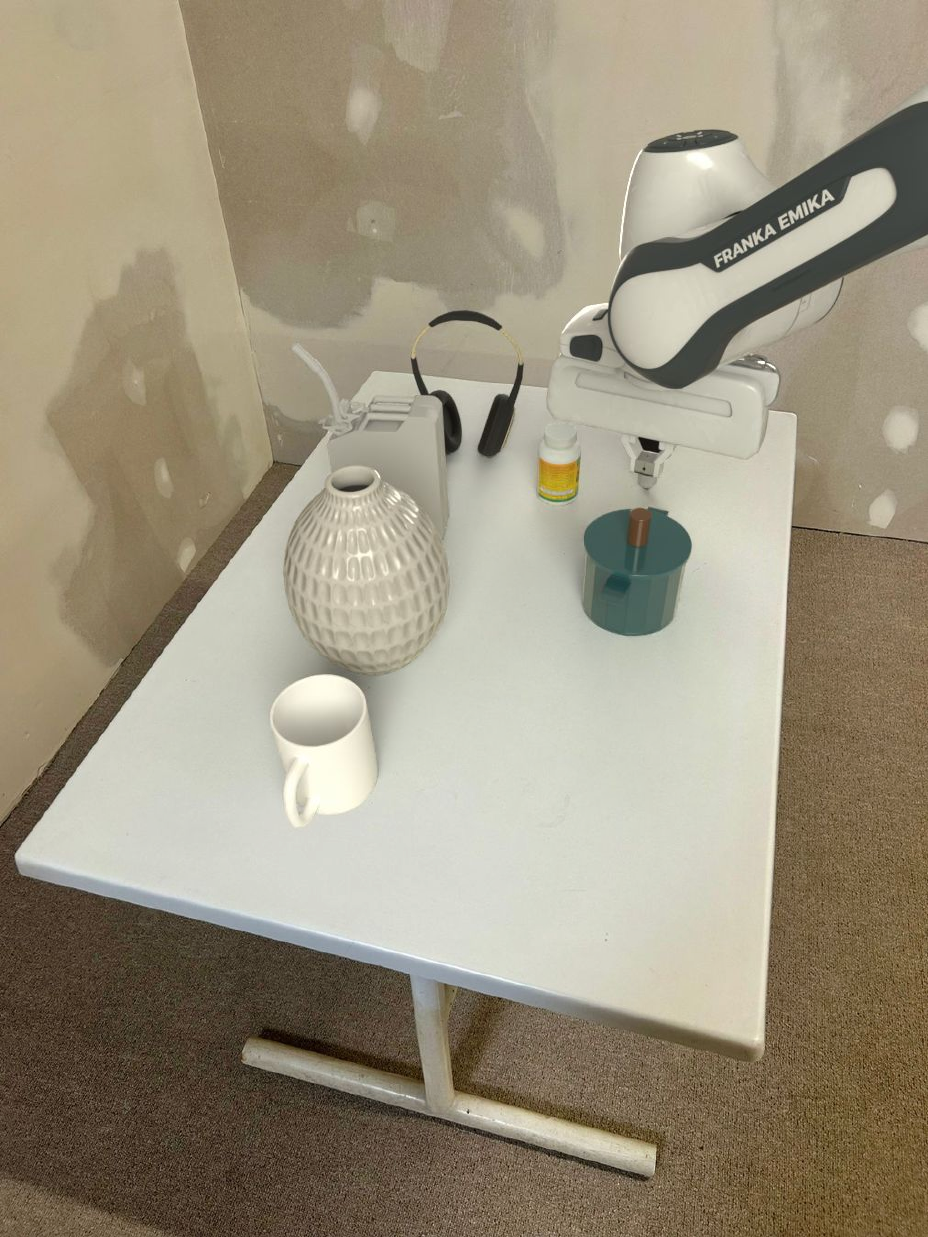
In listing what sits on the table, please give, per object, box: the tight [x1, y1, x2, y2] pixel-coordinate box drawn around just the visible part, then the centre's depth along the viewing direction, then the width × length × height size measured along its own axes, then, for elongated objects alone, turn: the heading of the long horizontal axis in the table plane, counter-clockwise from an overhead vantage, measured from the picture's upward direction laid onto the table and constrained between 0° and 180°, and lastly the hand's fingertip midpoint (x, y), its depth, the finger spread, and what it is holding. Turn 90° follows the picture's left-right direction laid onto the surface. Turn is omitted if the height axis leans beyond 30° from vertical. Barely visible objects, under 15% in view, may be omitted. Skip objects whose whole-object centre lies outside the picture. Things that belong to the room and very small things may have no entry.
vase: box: [282, 465, 451, 676], centre depth 85 cm, size 16×16×22 cm
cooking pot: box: [581, 506, 687, 637], centre depth 94 cm, size 10×16×8 cm, turn 154°
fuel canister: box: [289, 341, 450, 541], centre depth 100 cm, size 15×5×25 cm, turn 82°
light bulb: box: [636, 437, 672, 490], centre depth 109 cm, size 6×6×10 cm
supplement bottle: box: [536, 421, 582, 507], centre depth 109 cm, size 5×5×10 cm
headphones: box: [410, 309, 525, 458], centre depth 113 cm, size 9×15×20 cm, turn 79°
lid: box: [582, 507, 693, 580], centre depth 90 cm, size 11×11×5 cm
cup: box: [269, 673, 379, 829], centre depth 76 cm, size 8×12×10 cm
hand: (645, 472), depth 84 cm, fingers closed
